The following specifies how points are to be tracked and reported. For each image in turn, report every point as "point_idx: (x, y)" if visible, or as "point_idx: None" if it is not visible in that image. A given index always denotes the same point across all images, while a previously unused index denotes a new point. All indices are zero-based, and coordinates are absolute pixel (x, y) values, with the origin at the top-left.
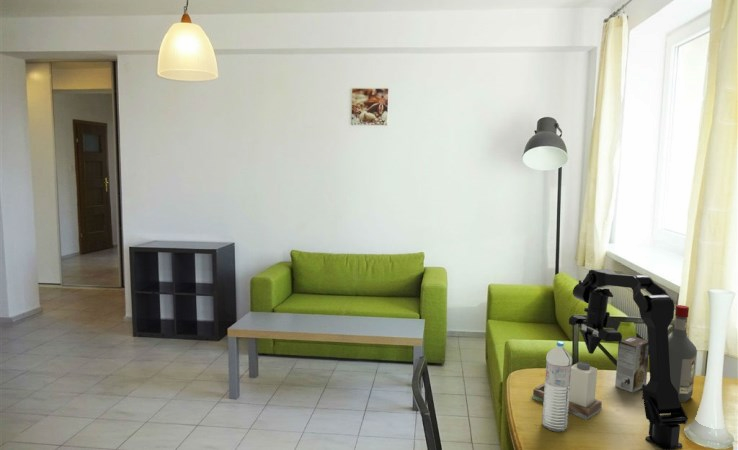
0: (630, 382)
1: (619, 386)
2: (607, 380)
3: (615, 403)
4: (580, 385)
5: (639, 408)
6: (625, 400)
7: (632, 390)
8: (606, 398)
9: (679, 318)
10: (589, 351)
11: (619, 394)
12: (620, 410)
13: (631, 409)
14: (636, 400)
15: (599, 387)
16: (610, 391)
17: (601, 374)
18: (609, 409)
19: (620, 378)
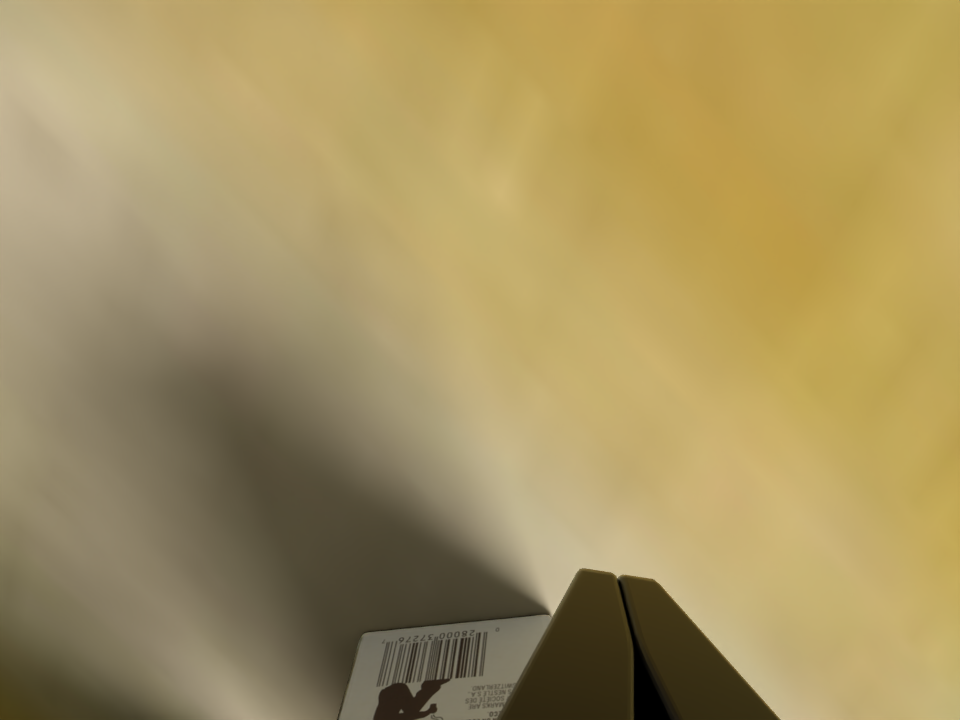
0: (368, 711)
1: (499, 626)
2: None
3: (190, 266)
4: None
5: (31, 405)
6: (228, 430)
7: (358, 649)
8: (332, 276)
9: None
10: (607, 600)
11: (370, 492)
12: (16, 166)
13: (21, 308)
14: (200, 527)
15: (601, 443)
16: (466, 468)
17: (837, 715)
18: (60, 51)
19: (490, 704)
